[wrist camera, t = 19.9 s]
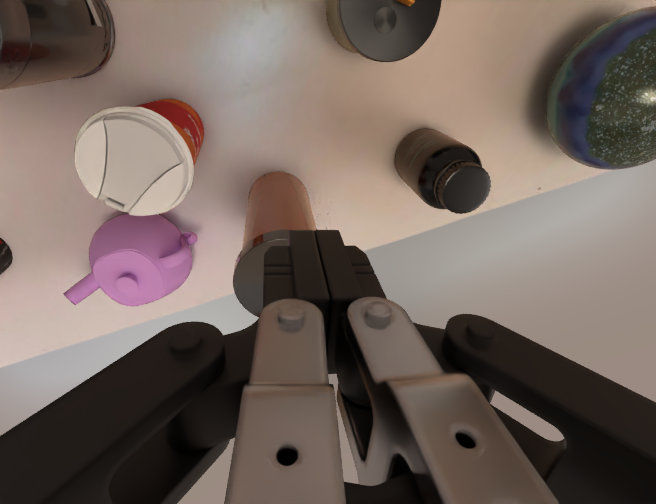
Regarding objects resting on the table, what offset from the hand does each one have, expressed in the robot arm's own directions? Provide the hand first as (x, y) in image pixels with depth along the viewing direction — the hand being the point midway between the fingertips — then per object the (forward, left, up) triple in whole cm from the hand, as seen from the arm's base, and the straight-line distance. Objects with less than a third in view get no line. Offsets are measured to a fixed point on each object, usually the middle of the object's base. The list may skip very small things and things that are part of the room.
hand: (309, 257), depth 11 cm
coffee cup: (-11, -3, -33) cm, 35 cm away
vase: (+36, +4, -33) cm, 49 cm away
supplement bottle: (+17, -5, -33) cm, 38 cm away
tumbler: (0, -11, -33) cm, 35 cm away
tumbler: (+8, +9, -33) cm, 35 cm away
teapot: (-16, -17, -33) cm, 41 cm away
